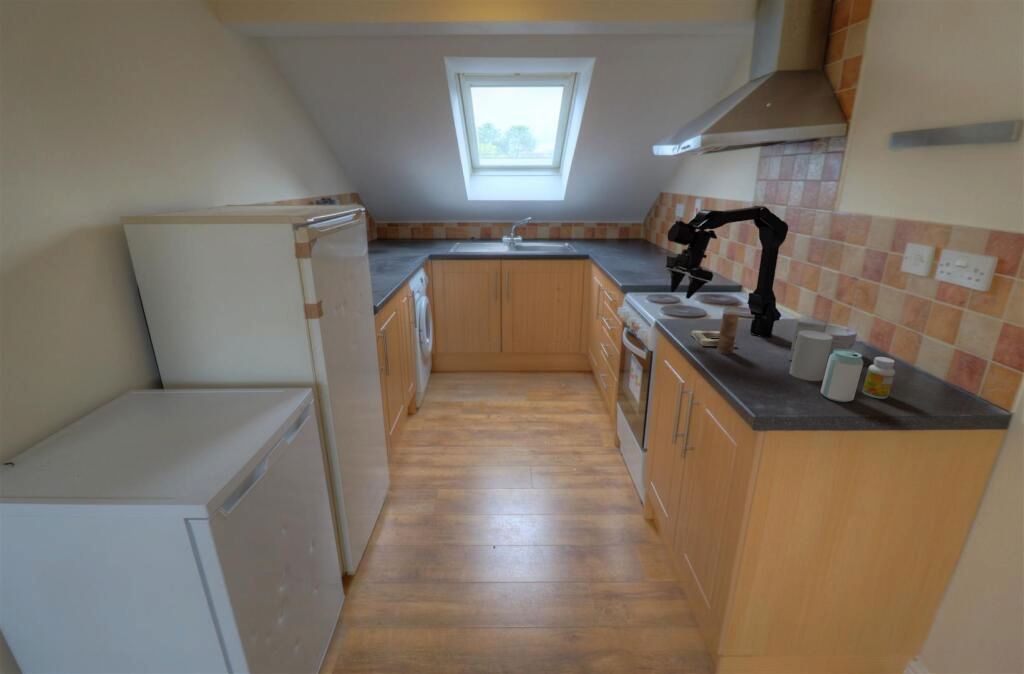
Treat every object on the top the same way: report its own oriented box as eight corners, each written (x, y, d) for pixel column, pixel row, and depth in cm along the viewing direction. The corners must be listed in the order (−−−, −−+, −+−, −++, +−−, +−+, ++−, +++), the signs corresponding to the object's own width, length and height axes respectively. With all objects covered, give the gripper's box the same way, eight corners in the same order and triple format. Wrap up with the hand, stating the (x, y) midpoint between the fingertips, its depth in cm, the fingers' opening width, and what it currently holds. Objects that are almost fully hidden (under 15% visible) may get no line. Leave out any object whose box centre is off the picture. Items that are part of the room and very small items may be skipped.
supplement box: (787, 360, 144) (796, 320, 140) (791, 353, 150) (799, 315, 146) (815, 366, 140) (825, 325, 136) (818, 359, 146) (827, 319, 142)
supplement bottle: (856, 390, 124) (866, 355, 121) (875, 389, 124) (885, 355, 121) (873, 399, 119) (883, 363, 116) (893, 399, 119) (904, 363, 116)
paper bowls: (795, 341, 162) (799, 318, 160) (848, 348, 155) (853, 325, 153) (796, 354, 149) (801, 330, 147) (854, 363, 143) (860, 338, 140)
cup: (818, 372, 135) (828, 332, 132) (826, 382, 128) (836, 341, 124) (786, 368, 138) (795, 328, 134) (792, 378, 131) (801, 337, 127)
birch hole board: (722, 336, 165) (723, 331, 164) (735, 347, 154) (736, 341, 154) (690, 335, 165) (691, 330, 165) (701, 346, 155) (702, 340, 154)
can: (838, 390, 123) (849, 347, 119) (860, 402, 117) (872, 357, 113) (813, 391, 122) (824, 348, 119) (834, 404, 116) (846, 358, 112)
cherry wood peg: (732, 350, 151) (739, 313, 147) (731, 355, 147) (738, 316, 143) (717, 348, 153) (723, 311, 149) (715, 352, 149) (722, 314, 145)
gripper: (660, 239, 159) (645, 283, 163) (692, 247, 142) (674, 296, 146) (688, 247, 162) (672, 290, 166) (722, 255, 145) (703, 303, 149)
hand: (679, 295), depth 157 cm, fingers open, 9 cm apart
